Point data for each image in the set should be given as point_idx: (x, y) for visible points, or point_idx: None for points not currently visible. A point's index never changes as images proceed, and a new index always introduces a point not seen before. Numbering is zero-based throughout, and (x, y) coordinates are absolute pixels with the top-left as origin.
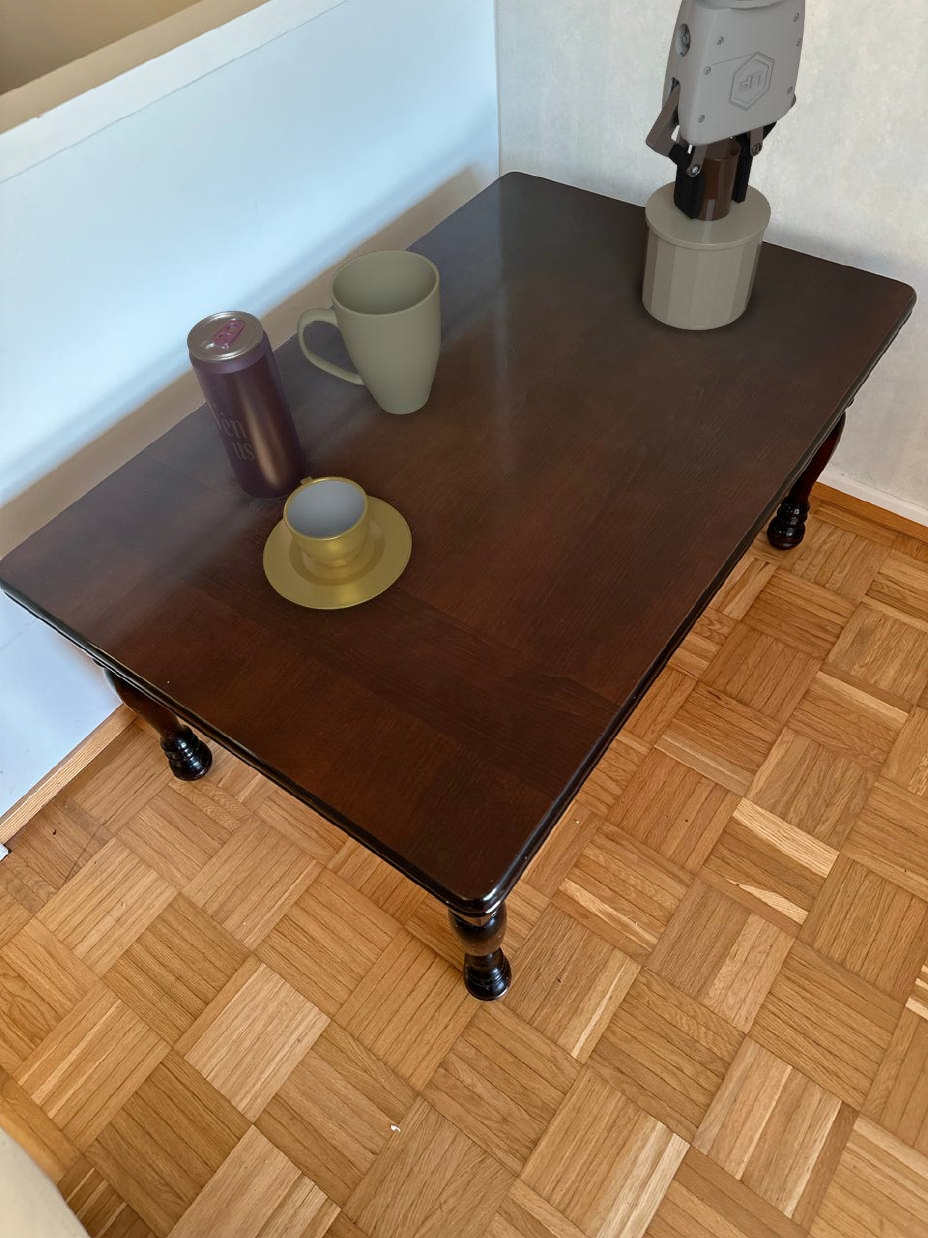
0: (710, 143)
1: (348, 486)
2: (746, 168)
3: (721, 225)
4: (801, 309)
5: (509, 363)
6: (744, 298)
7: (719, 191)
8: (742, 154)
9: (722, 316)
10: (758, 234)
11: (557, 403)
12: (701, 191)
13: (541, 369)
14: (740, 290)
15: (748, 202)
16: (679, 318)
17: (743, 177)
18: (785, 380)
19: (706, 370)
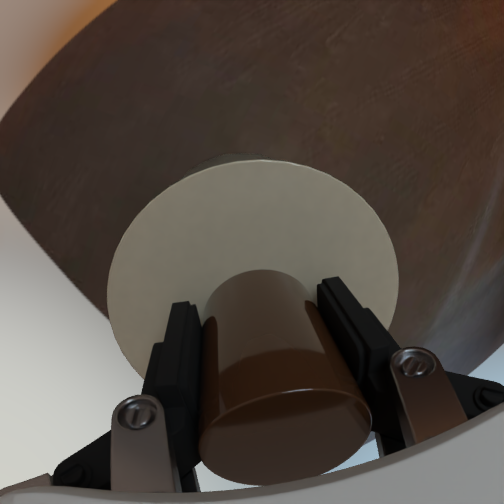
0: (495, 408)
1: None
2: (177, 363)
3: (263, 243)
4: (102, 152)
5: (485, 206)
6: (192, 169)
7: (284, 311)
8: (186, 411)
9: (238, 154)
10: (180, 179)
11: (475, 119)
12: (352, 315)
13: (469, 180)
14: (207, 164)
15: (153, 308)
16: None
17: (184, 345)
18: (206, 12)
19: (304, 72)
